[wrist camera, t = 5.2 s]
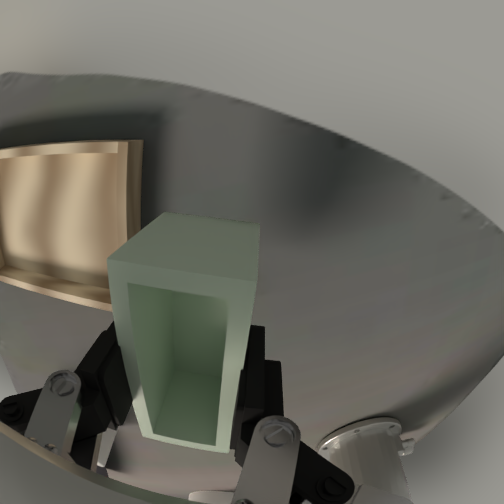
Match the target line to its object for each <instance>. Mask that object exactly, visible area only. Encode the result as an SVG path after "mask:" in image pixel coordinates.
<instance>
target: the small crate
mask: <svg viewBox="0 0 504 504" xmlns="http://www.w3.org/2000/svg"><path fill="white" fill-rule="evenodd" d="M259 231H260V224H258V223H251V222H244V221H236V220H228V219H221V218H213V217H205V216H197V215H188V214H180V213H171V212H164V213H162V214H161V215H160V216H159V217H157V218H156V219H155V220H153V221H152V222H151V223H149V224H148V225H147V226H146V227H144V228H143V229H142V230H141V231H139V232H138V233H137V234H136V235H134V236H133V237H132V238H131V239H129V240H128V241H127V242H126V243H125V244H123V245H122V246H121V247H120V248H119V249H117V250H116V251H115V252H114V253H113V254H111V255H110V256H109V257H108V258H107V270H108V280H109V288H110V296H111V304H112V311H113V317H114V323H115V329H116V335H117V340H118V345H119V346H120V347H121V352H122V357H123V362H124V366H125V371H126V375H127V379H128V383H129V387H130V391H131V395H132V399H133V402H132V404H133V407H134V411H135V414H136V417H137V420H138V424H139V427H140V430H141V433H142V436H144V437H147V438H151V439H155V440H159V441H163V442H167V443H172V444H176V445H181V446H186V447H191V448H196V449H202V450H208V451H215V452H222V453H229V448H230V438H231V429H232V420H233V414H234V408H235V402H236V396H237V390H238V383H239V377H240V371H241V369H242V370H243V366H244V360H245V354H246V348H247V342H248V336H249V330H250V324H251V318H252V311H253V305H254V299H255V293H256V286H257V276H258V254H259Z"/></svg>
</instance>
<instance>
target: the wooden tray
mask: <svg viewBox="0 0 504 504" xmlns="http://www.w3.org/2000/svg"><path fill="white" fill-rule="evenodd" d="M143 142H144V140H83V141H65V142H52V143H41V144H31V145H23V146H15V147H8V148H1V149H0V281H3V282H6V283H9V284H12V285H15V286H18V287H21V288H24V289H27V290H31V291H34V292H37V293H41V294H44V295H48V296H51V297H55V298H59V299H62V300H66V301H70V302H74V303H78V304H82V305H86V306H90V307H94V308H98V309H103V310H107V311H112V304H111V296H110V288H109V280H108V270H107V258H108V257H109V256H110V255H111V254H113V253H114V252H115V251H116V250H117V249H119V248H120V247H121V246H122V245H123V244H125V243H126V242H127V241H128V240H129V239H131V238H132V237H133V236H134V235H136V234H137V233H138V232H139V231H141V177H142V157H143ZM112 312H113V311H112Z"/></svg>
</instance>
